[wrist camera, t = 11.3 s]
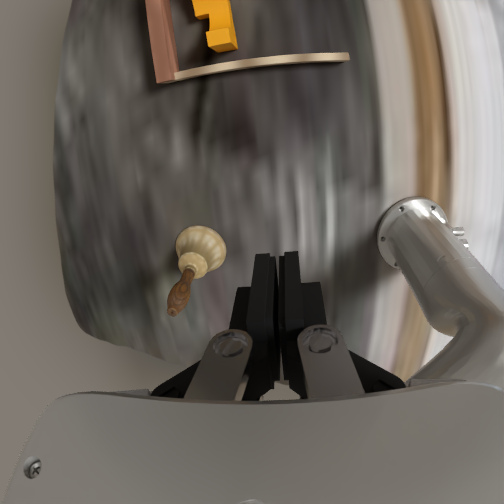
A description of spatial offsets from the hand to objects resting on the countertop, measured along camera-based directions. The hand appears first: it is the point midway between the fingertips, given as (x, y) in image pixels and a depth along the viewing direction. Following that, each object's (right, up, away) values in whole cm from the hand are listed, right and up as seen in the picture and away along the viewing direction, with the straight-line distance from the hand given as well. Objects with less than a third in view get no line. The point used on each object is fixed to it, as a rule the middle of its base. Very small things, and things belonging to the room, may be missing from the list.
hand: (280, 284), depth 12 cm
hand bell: (-9, +2, +37) cm, 38 cm away
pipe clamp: (-6, +33, +19) cm, 39 cm away
